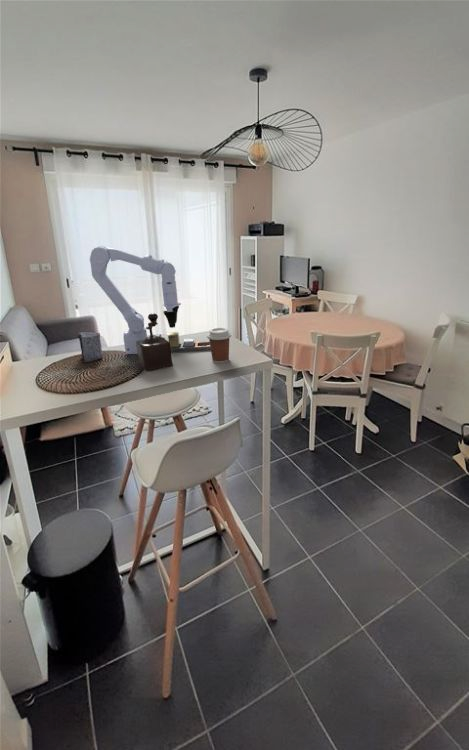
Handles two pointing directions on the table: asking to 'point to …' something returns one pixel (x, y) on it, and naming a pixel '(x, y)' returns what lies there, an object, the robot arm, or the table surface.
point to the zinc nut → (189, 342)
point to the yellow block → (174, 340)
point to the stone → (90, 346)
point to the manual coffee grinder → (154, 349)
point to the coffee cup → (219, 344)
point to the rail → (197, 347)
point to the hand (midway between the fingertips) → (173, 325)
